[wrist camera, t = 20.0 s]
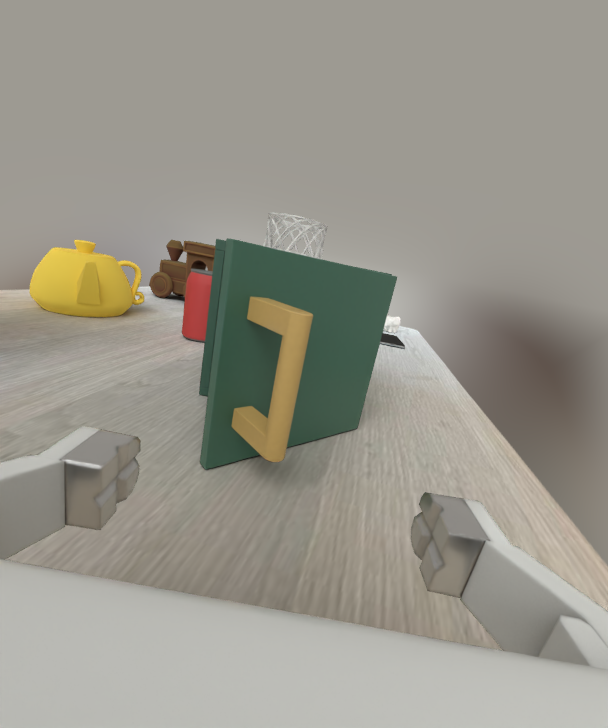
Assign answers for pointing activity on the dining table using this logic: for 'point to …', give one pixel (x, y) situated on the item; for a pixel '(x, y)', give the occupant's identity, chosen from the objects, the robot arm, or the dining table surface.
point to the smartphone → (391, 340)
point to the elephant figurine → (392, 324)
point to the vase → (307, 227)
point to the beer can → (196, 304)
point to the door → (289, 351)
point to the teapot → (84, 283)
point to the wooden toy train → (181, 267)
